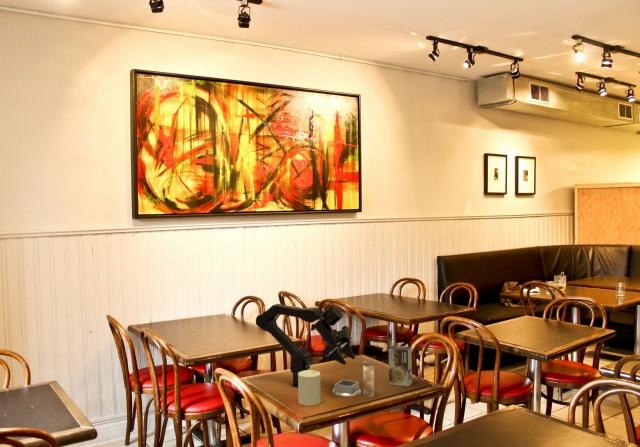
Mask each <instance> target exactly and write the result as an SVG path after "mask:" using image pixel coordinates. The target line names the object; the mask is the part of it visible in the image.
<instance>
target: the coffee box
mask: <svg viewBox="0 0 640 447" xmlns="http://www.w3.org/2000/svg"><path fill="white" fill-rule="evenodd" d="M412 350H413V348H412V346H405V345H392V346H391V345H390V347H389V348H388V378H389V380H388V384H389V385H391V386H392V385H393V386H400V387H402V386H403V387H408V388H409V387H410V386H411V385H412V384H413V355H412V353H413V351H412Z"/></svg>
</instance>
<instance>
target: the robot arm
mask: <svg viewBox="0 0 640 447" xmlns="http://www.w3.org/2000/svg"><path fill="white" fill-rule="evenodd" d="M278 315H283V316H287V317H294V318H298V319H300V320H302V321H304V322H306V323H309V324H311V323H312V324H311V327H310V332H313V331H317V332H318V334H319V336H320V337H321V338H322V339H321V341H322V342H325V343H326V345H327V346H325V348H324V349H322V351H321V352H322V355H323V356H324V357H325V358H326V357H327V359H332V360H334V361H335V362H338V363H340V364H341V365H344V366H345V365H347V362H346V360H345V358H344V357H343V356H342V354H341V352H342V353H344V354H345V355H346V356H347V357H349V358H350V359H352V360H355V358H356V357H355V354H354V352H353V350H352V346H351V343H352V337H351V336H350V335H351V328H349V327H348V326H347V325H344V326H342V327H341V329H340V330H338V329H335V328H334V329H333V328H332V327H333V326H335V325H336V324H337V323H338V322H339V321H340V320H341V319H343V317H344V315H343V313H342V311H341V309H339V308H337V307H335V306H334V305H330V306H329V308H328V309H327V310H326V311H324V310H320V308H319V307H303V308H302V307H299V306H298V307H297V306H290V305H284V304H280V303H276V304H272V305H271V307H269V308H268V309H267V310H266V311H264V312H263V313H261V314H258V315H257V316H256V318H255V324H256V326H257V327H258V328H259V329H261V331H265V332H267V333H268V334H270V335H271V336H272V337H273V339H274V340H276V341H277V342H278V343H279V344H280V345H281V347H282V348H283V349H284V350H285V351H286V352H287V353H288V354H289V355H290V358H291V360H292V362H293V364H292V365H291V366H290V368H289V369H290V372H291V373H292V385H291V387H296V388H297V387H298V373H299V372H301V371H305V370H310V369H311V366H312V365H313V363H314V358H313V355H312V353H311V352H310V351H309V350H308V349H307V348H306V347H304V348H301V347H299V346H298V345H296V343H295V342H294V341H293V340H292V339H291V338H290V337H289V336H288V335H287V334H286V333H285V332H284V331H283V329H281V328H280V327H279V325H278V322H277V320H276V318H277V317H278ZM320 319H321V320H320ZM314 322H315V323H314ZM331 326H332V327H331Z"/></svg>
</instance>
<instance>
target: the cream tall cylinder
mask: <svg viewBox="0 0 640 447" xmlns="http://www.w3.org/2000/svg"><path fill="white" fill-rule="evenodd" d="M362 363H363V365H362V366H363V368H362V370H363V374H362V375H363V376H362V377H363V382H362V384H363V388H362V389H363V397H364V398H373V397H375V362H374V361H373V360H364V361H363V362H362Z"/></svg>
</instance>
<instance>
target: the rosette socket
mask: <svg viewBox="0 0 640 447" xmlns="http://www.w3.org/2000/svg"><path fill="white" fill-rule="evenodd" d="M333 386H334V387H333V389H332V394H333V395H335V396H337V397H343V398H353V397H357V396H359V395H361V394H362V390H361V388H360V381H357V380H349V379H342V378H341V380H339V381H337V382H336V383H335V384H333Z"/></svg>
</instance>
